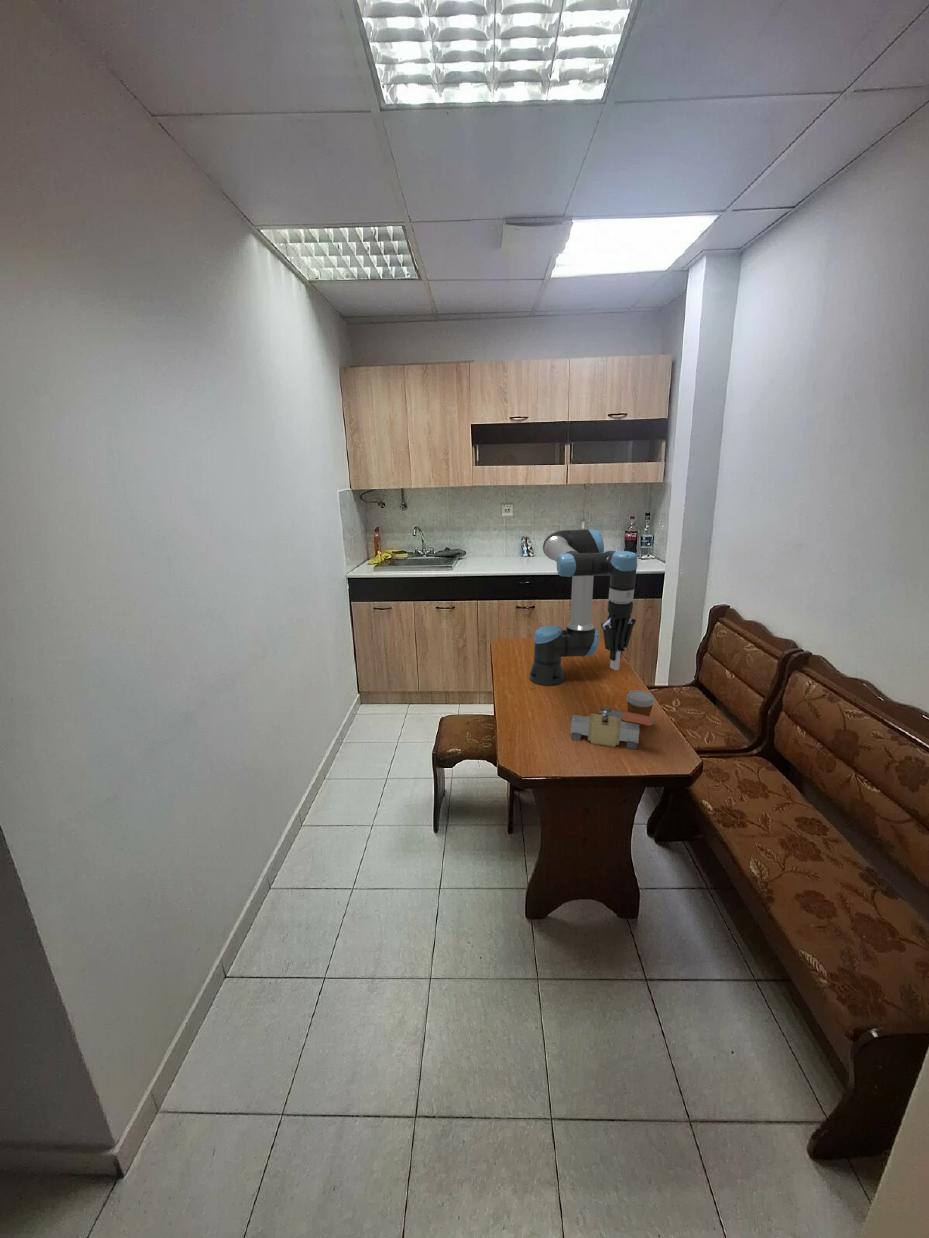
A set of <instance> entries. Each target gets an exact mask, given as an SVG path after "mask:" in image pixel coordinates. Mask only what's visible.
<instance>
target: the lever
mask: <svg viewBox="0 0 929 1238" xmlns="http://www.w3.org/2000/svg"><path fill="white" fill-rule="evenodd" d="M599 712H600V715H604V716H612V717H617V718H621V721H626V722H628V721H631V722H635V723H640V724H645V725H647V726H653V724H654V721H655V719H654V718H653V716H650V717H649V716H644V715H640V714H635V713H630V712H628V711H625V710H624V711H619V710H614V709H610V708H608V707H602V708H600V710H599Z"/></svg>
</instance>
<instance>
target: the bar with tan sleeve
mask: <svg viewBox="0 0 929 1238" xmlns="http://www.w3.org/2000/svg"><path fill="white" fill-rule="evenodd" d="M570 734H571V740H572V741H573V740H574V741H582V735H583V736H587V741H589V742H590V744H594V745H599V746H600V745H601V746H607V747H612V748H616V745H617V746H618V745H619V744H620V741H621V742H626V747H625V748H626V749H629V750H637V744H639V738H640V737H639V736H640V730H639V724H635V723H628V721H626V722H625V721H622V718H617V717H612V716H604V715H602V714H597V713H594V712H590V716H582V715H579V714H578V715H576V714H572V717H571V722H570ZM619 746H620V745H619Z"/></svg>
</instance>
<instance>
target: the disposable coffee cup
mask: <svg viewBox="0 0 929 1238" xmlns="http://www.w3.org/2000/svg"><path fill="white" fill-rule="evenodd" d="M625 698H626V702H627V712H630V713H635V714H640V715H644V716H649V717H651V713H652V708H653V705H654V704H655V702H656V701H655V698H654V695H653V694H652V693H650V692H648V691H644V690H639V689H638V690H631V691H629V692H628V693H627V695H626V697H625ZM627 722H628V723H635V722H631V721H627ZM635 724H639V731H645V730H647V728H648V725H645V724H640V723H635Z"/></svg>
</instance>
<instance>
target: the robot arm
mask: <svg viewBox="0 0 929 1238" xmlns="http://www.w3.org/2000/svg"><path fill="white" fill-rule="evenodd" d="M542 544H543V545H542V550H543V553H544V555H545V556H546V557H547V558H548V559H549V560H552V561H555V562H556V571H557V575H559V577H567V578H570V577H571V599H570V600H571V601H570V602H571V603H570V619H569V622H568V623H567V624H566V629H562V628H563V627H561V626H559V625H555V624H554V625H545V626H541V627H539V628H537V629H536V631H535V632H534V639H533V649H534V650H533V663H532V666H531V668H530V669H529V670H530V671H529V675H528V676H529V680H530V681H531V682H532V683H534V684H537V685H540V686H557V685H560V684H563V682H564V681H565V673H564V670H563V669H564V668H563V665H562V658H563V657H564V658H566V657H568V658H570V657H582V658H584V657H589V656H590V657H591V656H594V655H595V653H596V652H597V649H598V646H599V640H600V638H599V632H598V630H597V629H595V625H594V624H593V623H592V613H593V611H592V610H593V597H594V596H593V594H594V593H593V591H594V576H595V577H597V576H598V577H599V576H609V589H608V590H609V591H608V603H607V612H608V616H607V619H606V620H607V621H606V622H605V623H603V622H602V623H601V624H600V626H601V629H602V631H603V640H604V641H603V642H604V647H605V650H608V651H609V661H610V662H609V663H610V665H609V668H611V669H612V670H614V671H619V670H620V664H621V659H622V653H623V652H625V649H626V648H628V646H629V642H630V639H631V635H632V632H633V627H634V626H635V624H636V622H637V620H636V618H633V617H632V616H631V615H632V613H633V607H634V603H633V601H634V594H635V585H636V576H637V570H638V569H637V568H638V554H637V553H635V552H632V551H628V550H619V551H618V550H617V551H615V550H612V549H611V550H610V549H609V550H605V544H604V538H603V535H602V534H601V532H600V531H599V530H597V529H587V528H586V529H567V530H566V529H562V530H561V529H560V530H557V531H555V532H552V533H550V534H549V535H548V536H547V537H546V538H545V539H544V541H543V543H542Z"/></svg>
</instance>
